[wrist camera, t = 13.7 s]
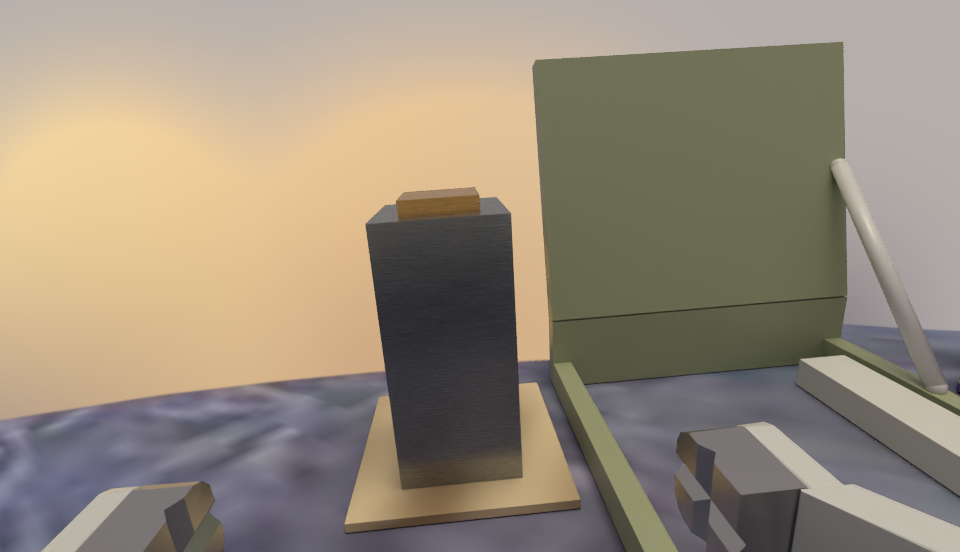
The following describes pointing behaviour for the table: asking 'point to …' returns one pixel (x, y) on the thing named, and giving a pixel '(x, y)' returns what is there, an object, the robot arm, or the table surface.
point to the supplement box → (958, 386)
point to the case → (715, 248)
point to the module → (448, 335)
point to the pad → (392, 507)
